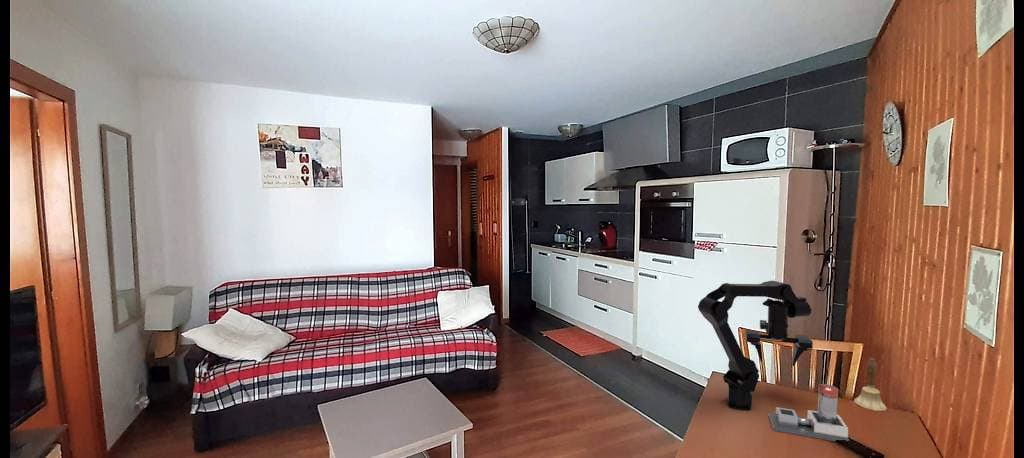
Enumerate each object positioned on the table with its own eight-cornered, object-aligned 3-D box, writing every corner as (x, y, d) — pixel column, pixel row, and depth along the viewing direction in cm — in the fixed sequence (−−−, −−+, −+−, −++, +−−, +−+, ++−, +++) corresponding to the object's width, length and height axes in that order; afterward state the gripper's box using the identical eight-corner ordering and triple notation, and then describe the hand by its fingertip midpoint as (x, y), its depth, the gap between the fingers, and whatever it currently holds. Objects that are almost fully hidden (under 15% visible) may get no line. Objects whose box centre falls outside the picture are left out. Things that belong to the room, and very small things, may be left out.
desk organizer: (773, 430, 121) (774, 416, 121) (768, 415, 130) (768, 403, 129) (848, 443, 114) (849, 429, 114) (838, 427, 122) (838, 414, 122)
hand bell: (893, 412, 131) (895, 364, 130) (863, 410, 132) (865, 362, 131) (876, 400, 139) (877, 354, 138) (848, 398, 140) (849, 353, 139)
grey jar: (818, 430, 119) (820, 389, 118) (814, 422, 123) (816, 382, 122) (838, 434, 117) (840, 392, 116) (833, 426, 121) (835, 385, 120)
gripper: (805, 315, 141) (803, 358, 142) (743, 310, 149) (742, 351, 150) (813, 324, 131) (812, 371, 132) (747, 318, 139) (746, 363, 140)
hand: (776, 363), depth 139 cm, fingers open, 9 cm apart
